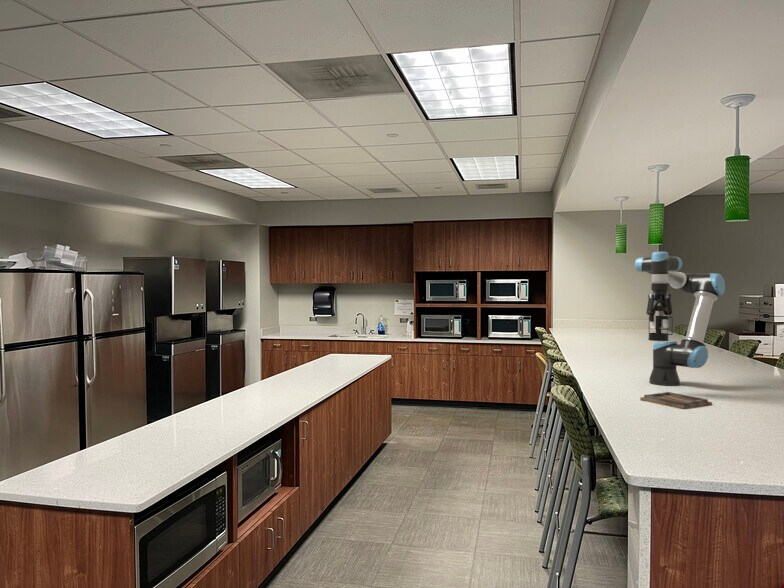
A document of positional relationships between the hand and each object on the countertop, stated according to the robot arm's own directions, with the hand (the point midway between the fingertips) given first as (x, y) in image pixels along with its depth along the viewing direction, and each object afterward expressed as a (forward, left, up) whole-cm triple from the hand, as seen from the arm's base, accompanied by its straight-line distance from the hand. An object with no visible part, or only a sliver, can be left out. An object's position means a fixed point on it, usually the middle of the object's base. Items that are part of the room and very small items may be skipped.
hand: (659, 328), depth 288 cm
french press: (0, 0, -6) cm, 6 cm away
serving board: (+13, +19, -32) cm, 40 cm away
